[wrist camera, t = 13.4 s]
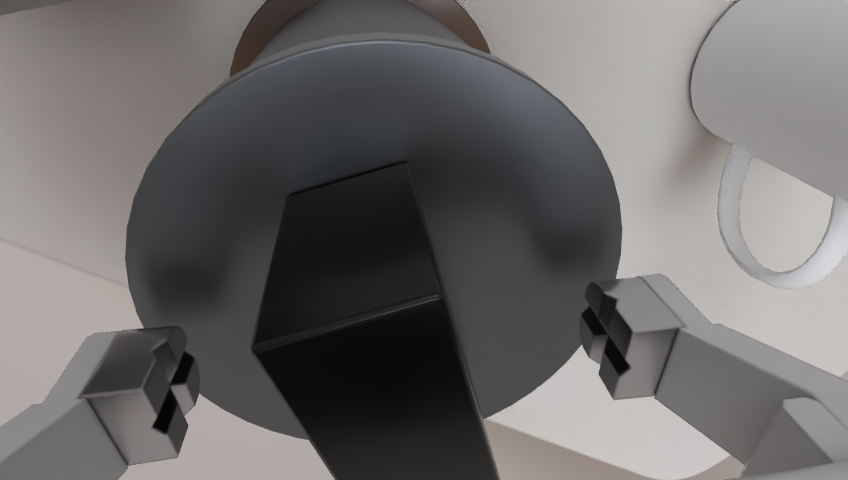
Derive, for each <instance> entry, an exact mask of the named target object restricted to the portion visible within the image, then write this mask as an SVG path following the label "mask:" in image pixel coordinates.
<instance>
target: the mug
mask: <svg viewBox="0 0 848 480" xmlns="http://www.w3.org/2000/svg"><path fill="white" fill-rule="evenodd" d="M690 92H691V99H692V106H693V109H694V111H695V113H696V115H697V117H698V119H699V121H700V123H701V124H702V125H703V126H704V127H705V128H706V129H707V130H708V131H710V132H711V133H712V134H714V135H716V136H717V137H719V138H721V139H723V140H725V141H727V142H729V143H731V144H732V147H731V149H730V152H729V155H728V158H727V161H726V164H725V167H724V171H723V174H722V178H721V183H720V189H719V194H718V211H717V214H718V222H719V230H720V234H721V237H722V239H723V241H724V244H725V246H726V249H727V251H728V252H729V254H730V255H731V257H732V258H733V259H734V261H735V262H736V263H737V265H738V266H739V267H740V268H742V269H743V270H744V271H745V272H746V273H747V274H748V275H750V276H751V277H753V278H755V279H757V280H759V281H761V282H764V283H766V284H768V285H770V286H772V287H775V288H782V289H789V290H793V289H799V288H804V287H810V286H812V285H814V284H816V283H818V282H819V281H821V280H823V279H825V278H826V277H827V276H828V275H830V274H831V273H832V272H833V271H834V270H835V269H836V268H837V267H838V265H839V264H840V262H841V261H842V259H843V258H844V256H845V255H846V254H847V252H848V0H740V1H738V2H737V3H736V4H734V5H733V6H732V7H731V8H730V9H729V10H728V11H727V12H726V13H725V14H724V15H723V17H722V18H721V19H720V20H719V21H718V22H717V23H716V25H715V26H714V27H713V28H712V30H711V32H710V33H709V35H708V37H707V38H706V40H705V42H704V43H703V45H702V47H701V48H700V51H699V54H698V57H697V59H696V62H695V65H694V68H693V72H692V79H691V87H690ZM753 155H754V156H755V157H757V158H759V159H761V160H763V161H765V162H767V163H769V164H771V165H772V166H774V167H776V168H778V169H780V170H782V171H784V172H786V173H788V174H790V175H791V176H793V177H795V178H797V179H799V180H801V181H803V182H805V183H807V184H809V185H810V186H812V187H814V188H816V189H818V190H820V191H822V192H824V193H826V194H827V195H829V196H831V197H833V204H832V210H831V216H830V220H829V224H828V227H827V230H826V232H825V235H824V237H823V239H822V241H821V243H820V244H819V246H818V247H817V249H816V250H815V252H814V253H813V254H812V255H811V256H810V257H809V258H808V259H807V260H806V262H805V263H804V264H802V265H801V266H799V267H797V268H795V269H793V270H790V271H786V272H774V271H772V270H770V269H767V268H765V267H764V266H762V265H761V264H760V263H759V262H758V261H757V260H756V259H755V258H754V256H753V255H752V254H751V253H750V251H749V250H748V248H747V246H746V244H745V241H744V239H743V237H742V235H741V228H740V221H739V216H740V200H741V194H742V188H743V183H744V180H745V176H746V173H747V170H748V167H749V164H750V161H751V158H752V156H753Z"/></svg>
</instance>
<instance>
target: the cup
mask: <svg viewBox="0 0 848 480" xmlns="http://www.w3.org/2000/svg"><path fill="white" fill-rule="evenodd" d="M67 1H72V0H0V15H4V14H9V13H14V12H18V11H23V10H28V9H33V8H38V7H43V6H48V5H52V4H57V3H62V2H67Z"/></svg>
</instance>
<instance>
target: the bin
mask: <svg viewBox="0 0 848 480" xmlns="http://www.w3.org/2000/svg"><path fill="white" fill-rule="evenodd" d="M621 241H622V223H621V212H620V203H619V199H618V195H617V191H616V187H615V184H614V180H613V176H612V174H611V172H610V170H609V167H608V165H607V163H606V161H605V159H604V156H603V154H602V152H601V150H600V148H599V147H598V145H597V144H596V142H595V141H594V139H593V138H592V136H591V135H590V133H589V132H588V130H587V129H586V128H585V126H584V125H583V124H582V123H581V121H580V120H579V119H578V118H577V117H576V116H575V115H574V114H573V113H572V112H571V111H570V110H569V109H568V108H567V107H566V106H565V105H564V103H563V102H562V101H560V100H559V99H558V98H556V97H555V96H554V95H553V94H551V93H550V92H549V91H547V90H546V89H545V88H543V87H542V86H541V85H539V84H538V83H537V82H536V81H534V80H533V79H532V78H530V77H529V76H528V75H526V74H525V73H523V72H522V71H520V70H518V69H517V68H515V67H513V66H511V65H509V64H508V63H506V62H504V61H502V60H500V59H498V58H497V57H495V56H493V55H491V54H488V53H485V52H483V51H480V50H477V49H474V48H472V47H470V46H469V45H468V44H467V43H465V42H464V41H463V40H462V39H461V38H460V37H458V36H457V35H456V34H455V33H454V32H453V31H451V30H450V29H449V28H448V27H447V26H445V25H444V24H443V23H442V22H441V21H440V20H438V19H437V18H436V17H434V16H433V15H432V14H430V13H429V12H428V11H426V10H425V9H423V8H421V7H419V6H417V5H415V4H414V3H412V2H409V1H407V0H320V1H318V2H315V3H313V4H311V5H310V6H308V7H306V8H304V9H303V10H301V11H299V12H298V13H297V14H296V15H294V16H293V17H292V18H291V19H289V20H288V21H287V22H286V23H285V24H284V25H283V26H282V27H281V28H280V29H279V31H278V32H277V33H276V34H275V35H274V36H273V38H272V39H271V40H270V41H269V43H268V44H267V45H266V46H265V48H264V49H263V50H262V51H261V53H260V54H259V55H258V56H257V58H256V59H255V60H254V61H253V63H252V64H251V65H250V66H249V67H248V68H246V69H244V70H242V71H240V72H239V73H237V74H235V75H233V76H231V77H230V78H229V79H228V80H226V81H225V82H224V83H223V84H221V85H220V86H219V87H217V88H216V89H215V90H214V91H212V92H211V93H210V94H208V95H207V96H206V97H205V98H203V99H202V100H201V101H200V102H199V103H198V104H197V106H196V107H195V108H194V109H193V110H192V111H191V112H190V113H189V114H188V115H187V116H186V117H185V118H184V119H183V121H182V122H181V123H180V124H179V125H178V126H177V127H176V128H175V129H174V130H173V131H172V132H171V133H170V135H169V136H168V137H167V138H166V139H165V141H164V142H163V144H162V145H161V147H160V148H159V150H158V151H157V153H156V154H155V156H154V157H153V159H152V161H151V162H150V164H149V165H148V167H147V168H146V171H145V173H144V175H143V178H142V180H141V182H140V185H139V187H138V189H137V192H136V194H135V196H134V199H133V203H132V208H131V212H130V216H129V221H128V225H127V232H126V253H125V261H126V268H127V276H128V283H129V289H130V292H131V295H132V299H133V302H134V305H135V308H136V312H137V314H138V316H139V319H140V321H141V323H142V325H143V327H144V328H155V327H167V326H178V327H181V328H182V329H183V331H184V333H185V335H186V337H187V339H188V342H187V345H186V347H185V350H184V351H186V352H187V353H189V354H190V355H192V356H193V357H195V359H196V362H197V365H198V368H199V374H200V387H199V393H200V394H201V395H202V396H204V397H205V398H207V399H208V400H210V401H211V402H213V403H214V404H216V405H218V406H219V407H220V408H222V409H224V410H225V411H227V412H230V413H231V414H233V415H235V416H237V417H239V418H241V419H243V420H245V421H247V422H250V423H253V424H255V425H258V426H260V427H263V428H266V429H268V430H271V431H274V432H278V433H282V434H285V435H289V436H292V437H296V438H301V439H307V440H309V441H310V442H311V444H312V446H313V447H314V448H315V450H316V451H317V453H318V454H319V456H320V457H321V459H322V461H323V462H324V464H325V465H326V467H327V468H328V470H329V471H330V473H331V474H332V476H333V477H334V479H335V480H500V477H499V474H498V470H497V467H496V463H495V460H494V456H493V453H492V449H491V446H490V442H489V439H488V435H487V432H486V428H485V424H484V421H483V419H485V418H487V417H490V416H492V415H493V414H495V413H497V412H499V411H501V410H503V409H505V408H507V407H509V406H511V405H512V404H514V403H515V402H517V401H519V400H520V399H522V398H523V397H525V396H526V395H528V394H530V393H531V392H532V391H534V390H535V389H536V388H537V387H539V386H540V385H541V384H543V383H544V382H545V381H546V380H548V379H549V378H550V377H551V376H552V375H553V374H554V373H556V372H557V371H558V370H559V369H560V368H561V367H562V366H563V365H564V364H565V363H566V362H567V361H568V360H569V359H570V358H571V356H572V355H573V354H574V353H575V352H576V351H577V349H578V348H579V347H580V346H581V345H582V342H581V339H580V330H579V324H580V317H581V314H582V313H583V311H584V310H585V309H586V308H587V307H588V306H589V304H588V302H587V301H586V299H585V298H584V297H585V293H586V288H587V286H588V285H589V283H590V282H597V281H606V280H615V279H616V275H617V270H618V265H619V260H620V256H621Z"/></svg>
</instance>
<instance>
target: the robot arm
mask: <svg viewBox="0 0 848 480" xmlns="http://www.w3.org/2000/svg"><path fill="white" fill-rule="evenodd" d="M584 298H585V299H586V301H587V302H588V304H589V306H588V307H587V308H586V309H585V310H584V311H583V313H582V314H581V317H580V324H579V330H580V339H581V342H582V345H583V348H584V350H585V351H586V353H587V355H588V357H589V358H590V359H592V360H594V361H595V362H597V363H598V364H600V365H601V366H600V370H599V376H600V378H601V379H602V381H603V383H604V384H605V386H606V388H607V389H608V391H609V393H610V395H611V396H612V398H613V400H620V399H630V398H639V397H649V396H655V399H656V400H658V401H659V402H661V403H662V404H663V405H665V406H666V407H667V408H669V409H670V410H671V411H673V412H674V413H675V414H677V415H678V416H679V417H681V418H682V419H683V420H685V421H686V422H687V423H689V424H690V425H692V426H693V427H694V428H696V429H697V430H698V431H700V432H701V433H702V434H704V435H705V436H706V437H708V438H709V439H710V440H712V441H713V442H714V443H716V444H717V445H719V446H720V447H721V448H723V449H724V450H725V451H727V452H728V453H729V454H731V455H732V456H733V457H735V458H736V459H737V460H739V461H740V462H742V463H743V464H744V465H745V467H744V469H743V470H742V472H741V474H740V475H739V477H738V478H733V479H726V480H848V381H846V380H844V379H842V378H840V377H837V376H835V375H833V374H831V373H828V372H826V371H824V370H822V369H820V368H817V367H815V366H813V365H811V364H808V363H806V362H804V361H802V360H800V359H797V358H795V357H793V356H791V355H788V354H786V353H784V352H782V351H780V350H777V349H775V348H773V347H771V346H768V345H766V344H764V343H762V342H759V341H757V340H755V339H753V338H751V337H748V336H746V335H744V334H742V333H739V332H737V331H735V330H733V329H731V328H728V327H726V326H724V325H722V324H711V322H710V321H709V320H708V319H707V318H706V317H705V316H704V315H703V314H702V313H701V312H700V311H699V310H698V309H697V308H696V307H695V306H694V305H693V304H692V303H691V302H690V301H689V300H688V299H687V297H686V296H685V295H684V294H683V293H682V292H681V291H680V290H679V289H678V288H677V287H676V286H675V285H674V284H673V283H672V282H671V281H670V280H669V279H668V278H667V277H666V276H664V275H662V274H652V275H644V276H637V277H633V278H624V279H615V280H606V281H597V282H590V283H589V285H588V286H587V288H586V293H585V297H584ZM187 342H188V339H187V337H186V335H185V333H184V331H183V329H182V328H181V327H178V326H167V327H155V328H143V329H132V330H122V331H112V332H102V333H94V334H92V335H90V336H89V337H87V338H86V339H85V341H84V342H83V344H82V345H81V347H80V348H79V349H78V351H77V353H76V354H75V355H74V357H73V358H72V360H71V361H70V363H69V364H68V366H67V367H66V369H65V370H64V372H63V373H62V375H61V376H60V378H59V379H58V381H57V383H56V384H55V385H54V387H53V388H52V390H51V391H50V393H49V394H48V396H47V397H46V399H45V400H44V401H43V403H41V404H34V405H31V406H30V407H29V408H27V409H25V410H24V411H23V412H21V413H20V414H18V415H17V416H15V417H14V418H12V419H11V420H9V421H8V422H7V423H5V424H4V425H2V426H1V427H0V480H118V479H119V478H120V477H121V476H122V475H123V474H124V473H125V471H126V470H127V469H128V466H129V465H136V464H142V463H148V462H155V461H161V460H167V459H173V458H178V455H179V452H180V449H181V446H182V443H183V440H184V437H185V434H186V431H187V429H188V424H187V422H186V419H185V417H184V416H185V414H187V413H188V412H189V411H190V410H191V409H192V408H193V407H194V406H195V404H196V401H197V398H198V395H199V387H200V374H199V368H198V365H197V362H196V359H195V357H193V356H192V355H190V354H189V353H187V352H186V351H184V350H185V347H186V345H187Z"/></svg>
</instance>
